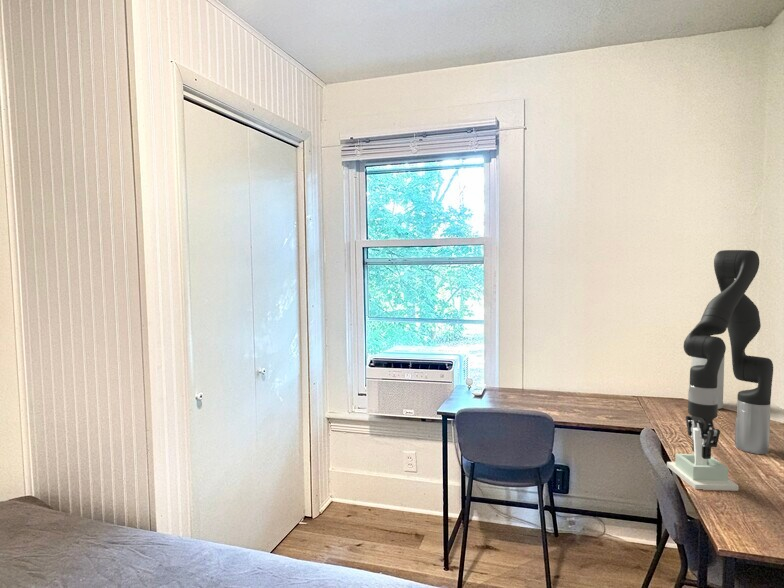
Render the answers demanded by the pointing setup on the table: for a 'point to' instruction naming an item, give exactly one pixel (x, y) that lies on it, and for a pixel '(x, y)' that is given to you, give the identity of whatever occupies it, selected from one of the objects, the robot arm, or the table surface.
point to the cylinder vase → (719, 378)
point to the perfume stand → (702, 473)
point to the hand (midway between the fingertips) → (701, 454)
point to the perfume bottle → (698, 448)
